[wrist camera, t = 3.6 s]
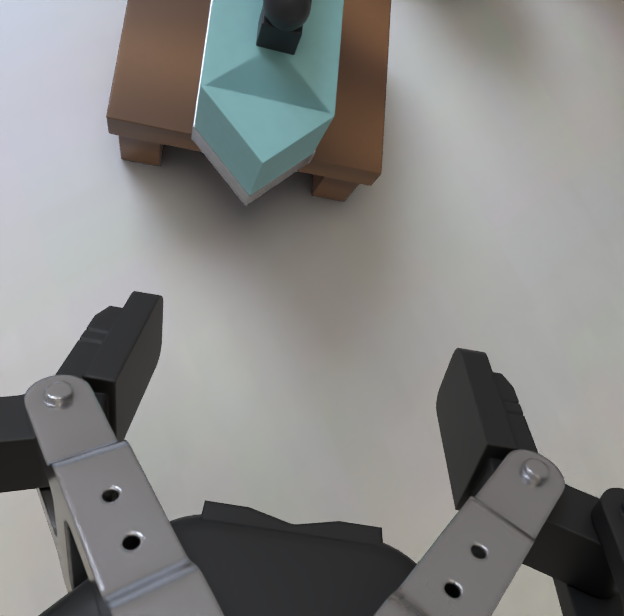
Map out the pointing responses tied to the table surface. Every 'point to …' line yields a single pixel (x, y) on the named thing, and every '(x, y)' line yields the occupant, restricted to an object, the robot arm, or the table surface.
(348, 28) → the stand
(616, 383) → the table surface
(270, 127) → the iron
